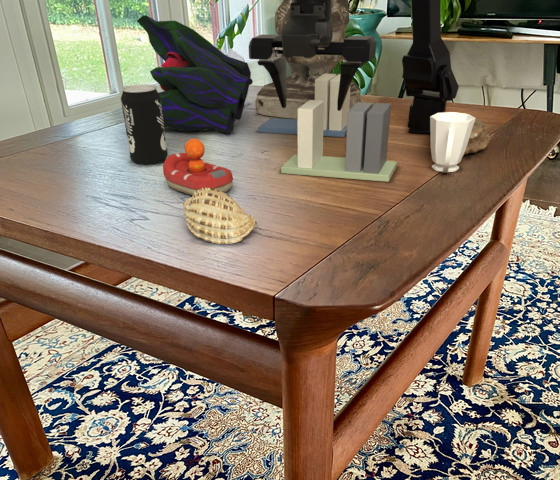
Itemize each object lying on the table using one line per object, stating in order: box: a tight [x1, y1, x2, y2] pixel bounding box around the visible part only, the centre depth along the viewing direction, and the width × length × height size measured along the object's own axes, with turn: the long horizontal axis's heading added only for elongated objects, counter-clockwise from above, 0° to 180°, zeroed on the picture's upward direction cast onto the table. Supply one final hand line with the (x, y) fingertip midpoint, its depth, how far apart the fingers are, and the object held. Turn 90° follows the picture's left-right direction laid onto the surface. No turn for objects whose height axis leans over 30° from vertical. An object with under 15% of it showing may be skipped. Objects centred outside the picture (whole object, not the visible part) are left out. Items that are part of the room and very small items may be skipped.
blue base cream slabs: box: [257, 73, 351, 138], centre depth 117 cm, size 18×8×10 cm, turn 72°
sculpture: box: [254, 0, 362, 119], centre depth 124 cm, size 19×17×30 cm
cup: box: [429, 111, 476, 174], centre depth 94 cm, size 7×10×8 cm
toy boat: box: [162, 138, 234, 197], centre depth 89 cm, size 8×12×8 cm, turn 47°
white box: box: [297, 100, 324, 169], centre depth 95 cm, size 2×7×9 cm, turn 162°
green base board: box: [280, 101, 398, 183], centre depth 94 cm, size 18×8×10 cm, turn 72°
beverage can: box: [120, 83, 169, 166], centre depth 100 cm, size 7×7×12 cm
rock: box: [464, 117, 491, 155], centre depth 104 cm, size 13×11×5 cm
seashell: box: [182, 188, 258, 245], centre depth 76 cm, size 8×6×10 cm
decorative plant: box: [136, 14, 254, 135], centre depth 118 cm, size 21×26×30 cm
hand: (311, 109), depth 93 cm, fingers open, 9 cm apart
